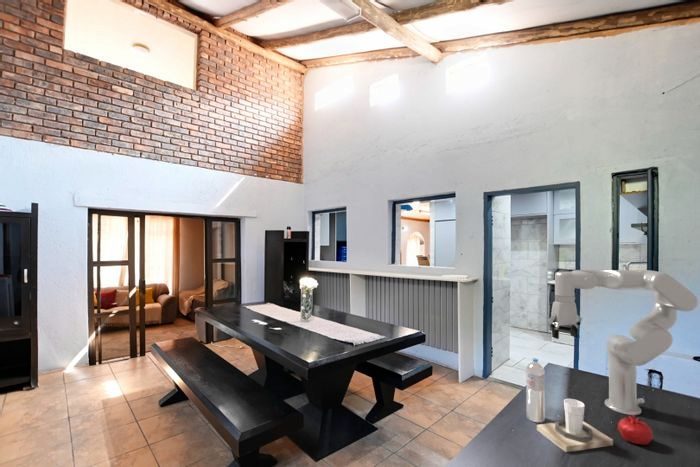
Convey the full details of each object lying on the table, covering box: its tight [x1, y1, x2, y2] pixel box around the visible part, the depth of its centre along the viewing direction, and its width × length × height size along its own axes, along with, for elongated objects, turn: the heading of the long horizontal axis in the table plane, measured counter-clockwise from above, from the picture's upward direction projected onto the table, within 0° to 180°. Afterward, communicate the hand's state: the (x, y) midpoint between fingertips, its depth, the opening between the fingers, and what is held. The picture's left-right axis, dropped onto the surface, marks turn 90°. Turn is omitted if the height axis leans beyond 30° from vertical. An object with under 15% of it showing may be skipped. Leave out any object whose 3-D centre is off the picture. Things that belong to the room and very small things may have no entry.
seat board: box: [536, 419, 614, 453], centre depth 129 cm, size 20×14×4 cm
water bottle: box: [525, 358, 546, 424], centre depth 142 cm, size 7×7×25 cm
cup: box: [563, 398, 585, 436], centre depth 130 cm, size 7×7×11 cm
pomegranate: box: [617, 415, 654, 446], centre depth 128 cm, size 10×10×9 cm
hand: (564, 337), depth 154 cm, fingers open, 9 cm apart
